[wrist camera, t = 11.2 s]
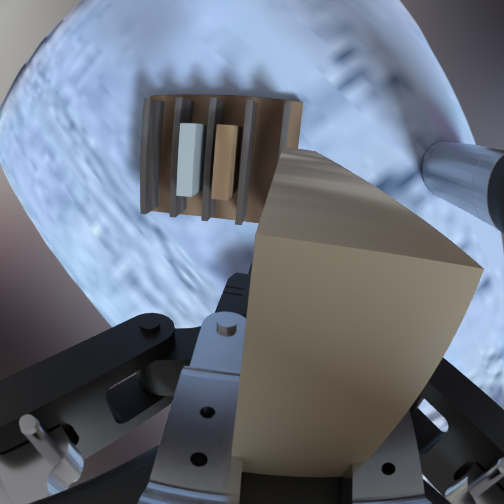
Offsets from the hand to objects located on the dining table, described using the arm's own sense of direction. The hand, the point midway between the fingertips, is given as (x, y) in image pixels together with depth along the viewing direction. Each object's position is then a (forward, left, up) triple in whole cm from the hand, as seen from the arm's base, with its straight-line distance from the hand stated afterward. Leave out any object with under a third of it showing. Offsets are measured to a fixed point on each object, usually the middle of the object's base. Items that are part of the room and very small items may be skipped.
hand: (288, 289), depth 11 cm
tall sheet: (0, 0, -8) cm, 8 cm away
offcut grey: (+12, -2, -31) cm, 33 cm away
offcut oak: (+8, -2, -31) cm, 32 cm away
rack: (+10, -2, -32) cm, 34 cm away
